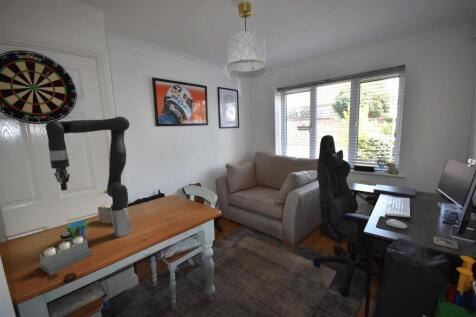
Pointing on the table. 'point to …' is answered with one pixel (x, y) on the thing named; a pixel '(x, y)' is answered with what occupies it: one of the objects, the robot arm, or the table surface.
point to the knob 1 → (49, 252)
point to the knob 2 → (77, 240)
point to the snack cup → (77, 229)
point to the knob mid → (64, 246)
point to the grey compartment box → (64, 257)
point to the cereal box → (105, 213)
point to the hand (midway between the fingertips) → (64, 189)
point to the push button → (66, 236)
